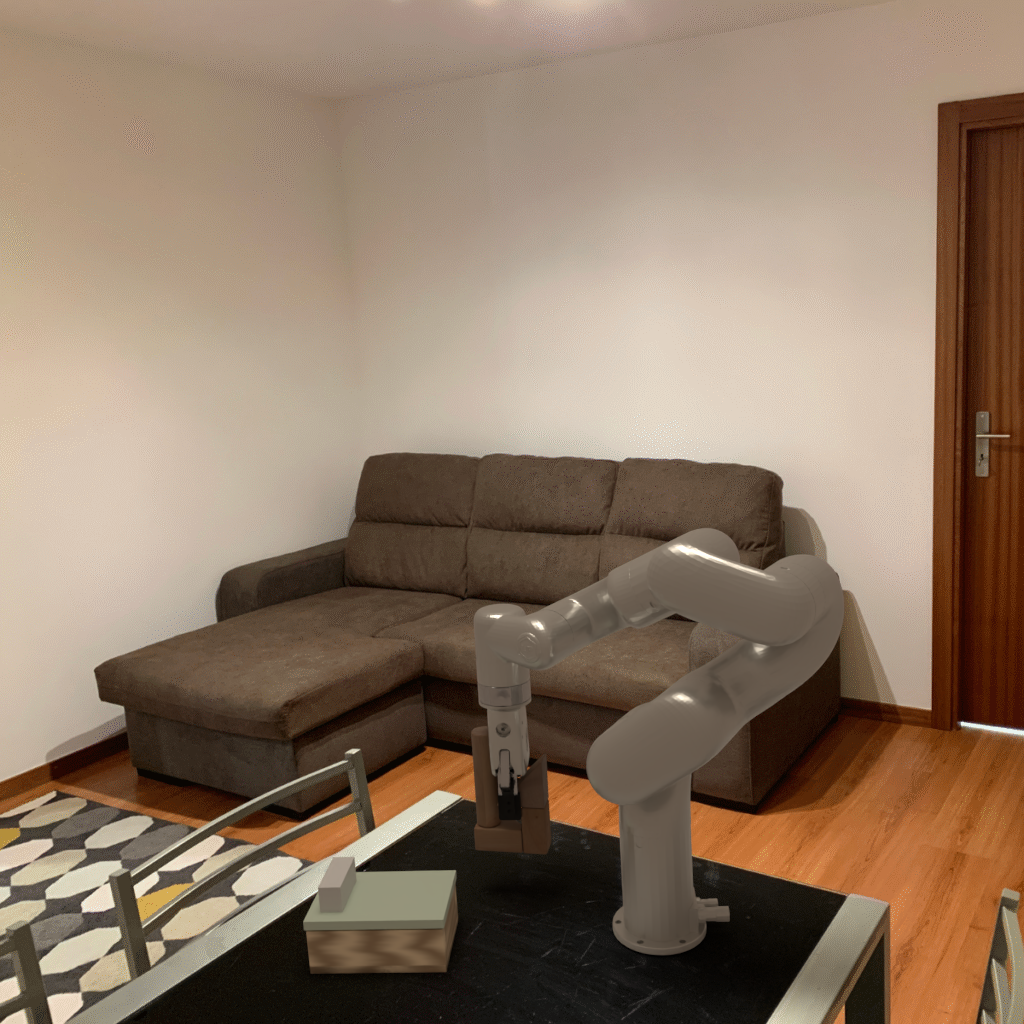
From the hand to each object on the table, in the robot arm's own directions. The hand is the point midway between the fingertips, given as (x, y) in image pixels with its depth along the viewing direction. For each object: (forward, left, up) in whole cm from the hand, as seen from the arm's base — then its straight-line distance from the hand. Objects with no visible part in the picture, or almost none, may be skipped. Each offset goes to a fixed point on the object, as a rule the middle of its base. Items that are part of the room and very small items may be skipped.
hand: (511, 810), depth 147 cm
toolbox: (+17, +13, -13) cm, 25 cm away
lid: (+17, +13, -7) cm, 22 cm away
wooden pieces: (0, 0, -6) cm, 6 cm away
